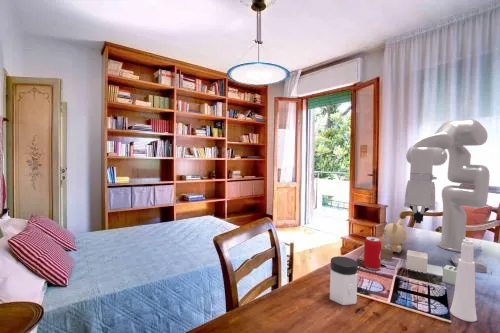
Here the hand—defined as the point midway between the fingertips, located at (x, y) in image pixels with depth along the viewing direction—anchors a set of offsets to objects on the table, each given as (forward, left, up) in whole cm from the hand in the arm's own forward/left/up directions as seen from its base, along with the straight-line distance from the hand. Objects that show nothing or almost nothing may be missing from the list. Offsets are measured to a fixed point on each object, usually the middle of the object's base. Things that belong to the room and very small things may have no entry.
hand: (418, 222), depth 107 cm
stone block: (-17, +16, -19) cm, 30 cm away
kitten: (-16, -11, -19) cm, 27 cm away
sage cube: (+5, +12, -19) cm, 23 cm away
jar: (+43, -15, -19) cm, 49 cm away
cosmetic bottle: (+29, +15, -19) cm, 38 cm away
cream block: (0, 0, -19) cm, 19 cm away
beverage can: (+12, -14, -19) cm, 27 cm away
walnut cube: (-3, -12, -19) cm, 23 cm away
